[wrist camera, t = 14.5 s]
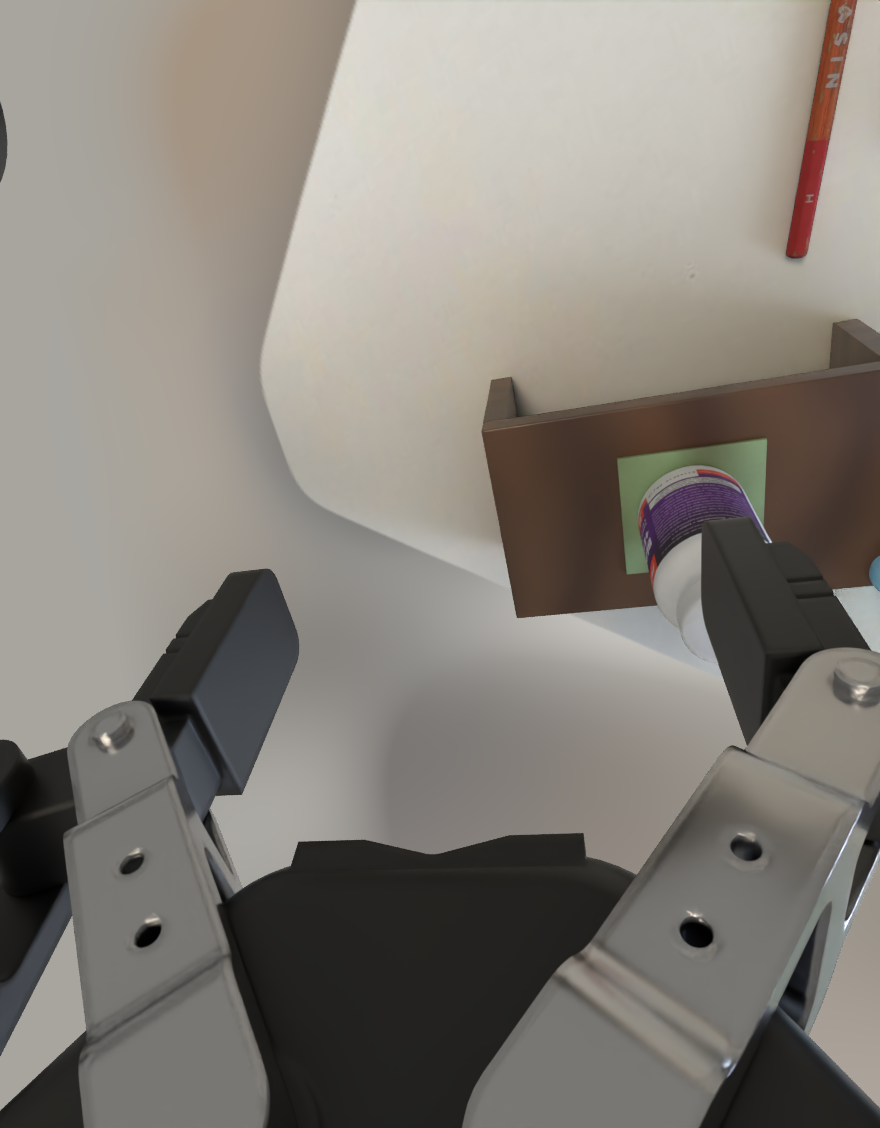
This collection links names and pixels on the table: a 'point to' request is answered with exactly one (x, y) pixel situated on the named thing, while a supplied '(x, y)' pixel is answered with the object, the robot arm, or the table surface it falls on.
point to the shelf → (679, 439)
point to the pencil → (820, 124)
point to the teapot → (875, 573)
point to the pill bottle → (687, 541)
